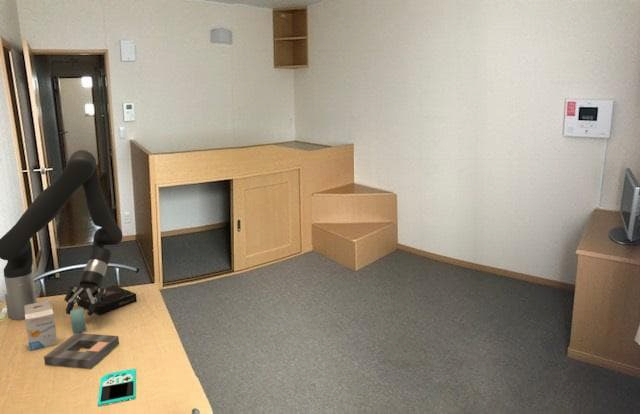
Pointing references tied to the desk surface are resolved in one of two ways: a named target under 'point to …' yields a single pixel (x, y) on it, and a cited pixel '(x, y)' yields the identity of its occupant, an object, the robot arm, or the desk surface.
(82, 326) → the peg
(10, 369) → the desk surface
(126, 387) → the handheld game console
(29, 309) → the ink box
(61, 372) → the desk surface
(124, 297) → the portable cd player
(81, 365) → the holder
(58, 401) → the desk surface
